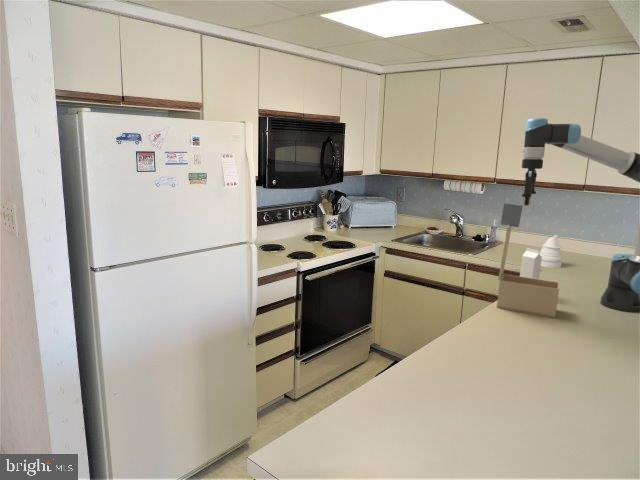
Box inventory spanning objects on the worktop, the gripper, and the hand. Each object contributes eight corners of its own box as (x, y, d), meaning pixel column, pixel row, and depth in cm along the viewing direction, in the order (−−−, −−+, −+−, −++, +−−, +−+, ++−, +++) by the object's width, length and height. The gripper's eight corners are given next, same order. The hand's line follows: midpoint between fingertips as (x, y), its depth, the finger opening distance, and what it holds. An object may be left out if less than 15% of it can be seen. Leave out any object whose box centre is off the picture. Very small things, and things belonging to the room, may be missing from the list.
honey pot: (565, 266, 263) (569, 236, 259) (553, 269, 255) (557, 238, 252) (544, 261, 273) (548, 232, 269) (532, 263, 266) (536, 234, 262)
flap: (523, 203, 189) (506, 201, 192) (521, 206, 179) (502, 204, 182) (510, 275, 196) (493, 271, 199) (507, 282, 186) (489, 278, 189)
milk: (529, 298, 203) (536, 251, 198) (517, 295, 207) (522, 248, 203) (536, 296, 206) (543, 249, 202) (524, 292, 211) (530, 247, 206)
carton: (555, 309, 190) (559, 282, 187) (554, 318, 180) (559, 289, 178) (499, 300, 200) (503, 274, 197) (496, 307, 190) (499, 280, 188)
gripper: (525, 157, 192) (520, 207, 196) (519, 158, 170) (513, 214, 174) (544, 158, 188) (539, 208, 192) (541, 159, 167) (535, 216, 171)
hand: (527, 211), depth 183 cm, fingers open, 13 cm apart
